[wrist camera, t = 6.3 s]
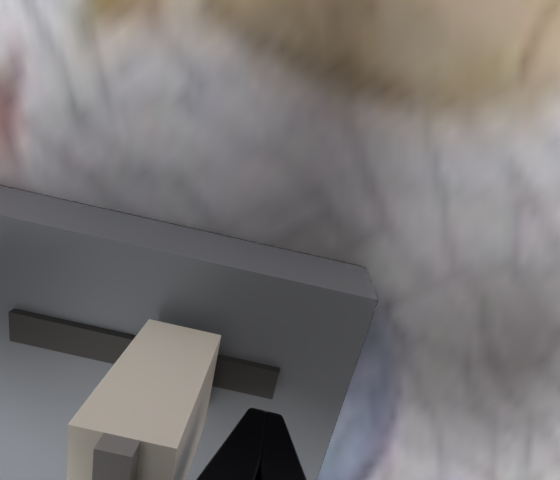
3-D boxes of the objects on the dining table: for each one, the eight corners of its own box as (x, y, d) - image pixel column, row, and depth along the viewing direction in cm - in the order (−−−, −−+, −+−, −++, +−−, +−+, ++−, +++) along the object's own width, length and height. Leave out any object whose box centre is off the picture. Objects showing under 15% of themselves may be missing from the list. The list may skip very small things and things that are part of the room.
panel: (365, 267, 11) (400, 356, 7) (261, 593, 16) (246, 751, 12) (-168, 147, 11) (-449, 167, 7) (-95, 514, 16) (-228, 646, 12)
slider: (221, 335, 9) (170, 465, 6) (205, 421, 10) (153, 578, 6) (149, 318, 9) (55, 440, 6) (140, 407, 10) (54, 556, 6)
